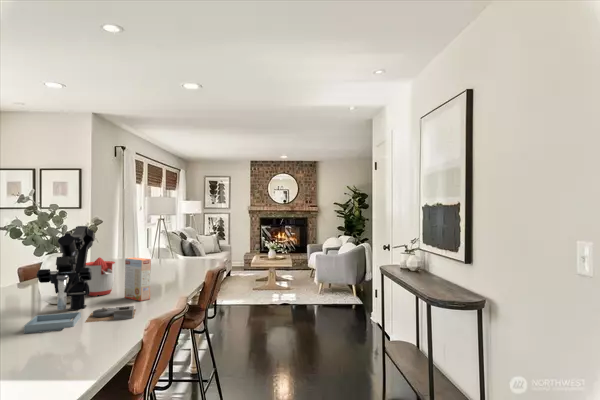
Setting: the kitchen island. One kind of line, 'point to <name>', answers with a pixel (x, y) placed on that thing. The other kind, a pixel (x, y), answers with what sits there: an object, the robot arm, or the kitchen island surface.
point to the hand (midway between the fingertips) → (61, 292)
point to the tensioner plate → (112, 314)
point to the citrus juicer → (101, 277)
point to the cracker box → (137, 278)
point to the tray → (51, 322)
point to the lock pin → (61, 291)
